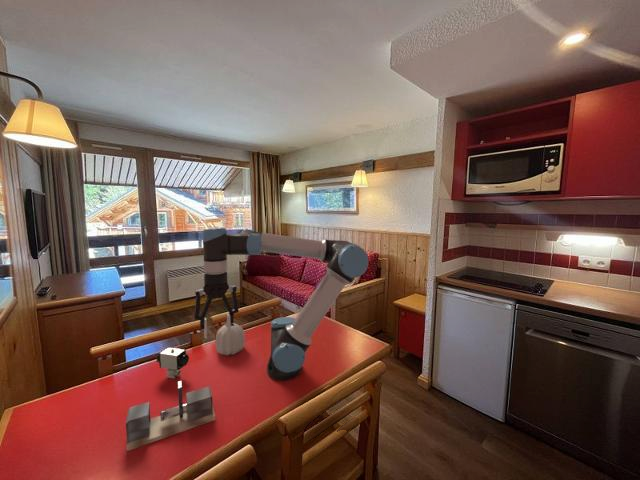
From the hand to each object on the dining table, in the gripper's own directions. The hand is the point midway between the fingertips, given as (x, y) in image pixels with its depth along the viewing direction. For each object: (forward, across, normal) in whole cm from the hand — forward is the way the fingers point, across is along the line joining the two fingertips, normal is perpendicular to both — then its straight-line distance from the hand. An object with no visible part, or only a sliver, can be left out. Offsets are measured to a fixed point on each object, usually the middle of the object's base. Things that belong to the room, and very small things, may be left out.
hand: (217, 334), depth 95 cm
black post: (+23, +11, +5) cm, 26 cm away
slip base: (+25, +15, +5) cm, 30 cm away
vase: (+25, -10, -32) cm, 42 cm away
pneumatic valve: (+25, +14, -23) cm, 37 cm away
